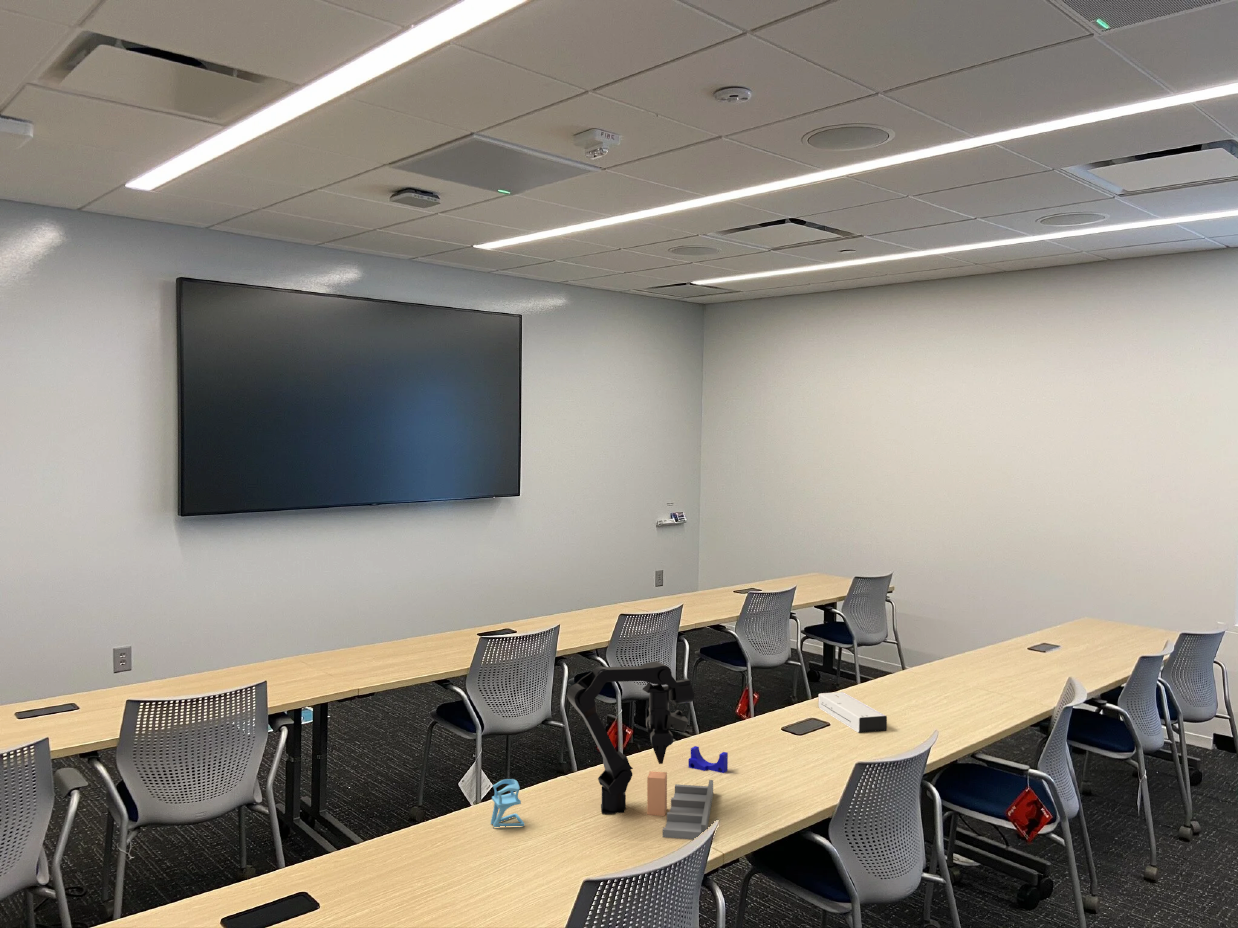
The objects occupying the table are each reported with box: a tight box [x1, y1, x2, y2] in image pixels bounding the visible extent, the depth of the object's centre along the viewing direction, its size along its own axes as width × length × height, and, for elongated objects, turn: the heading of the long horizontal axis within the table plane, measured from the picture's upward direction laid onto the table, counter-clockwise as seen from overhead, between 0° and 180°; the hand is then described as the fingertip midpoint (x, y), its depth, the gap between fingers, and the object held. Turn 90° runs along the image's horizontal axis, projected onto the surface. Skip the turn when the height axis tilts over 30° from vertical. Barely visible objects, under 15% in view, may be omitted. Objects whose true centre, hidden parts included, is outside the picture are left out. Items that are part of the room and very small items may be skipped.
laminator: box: [817, 691, 888, 734], centre depth 345 cm, size 34×12×6 cm, turn 13°
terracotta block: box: [646, 770, 668, 817], centre depth 254 cm, size 5×5×11 cm
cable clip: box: [688, 745, 729, 774], centre depth 290 cm, size 12×4×6 cm, turn 57°
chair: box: [490, 778, 525, 827], centre depth 247 cm, size 8×8×12 cm
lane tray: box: [662, 779, 714, 840], centre depth 253 cm, size 12×33×4 cm, turn 170°
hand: (659, 758), depth 262 cm, fingers open, 9 cm apart
